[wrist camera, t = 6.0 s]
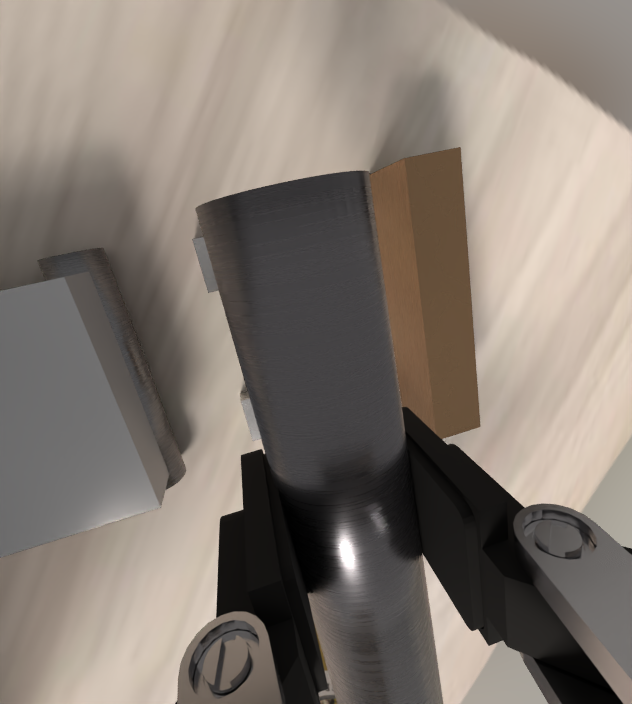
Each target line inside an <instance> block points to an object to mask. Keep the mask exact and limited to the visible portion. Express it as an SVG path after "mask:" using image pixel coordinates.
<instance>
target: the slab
mask: <svg viewBox="0 0 632 704" xmlns="http://www.w3.org/2000/svg"><path fill="white" fill-rule="evenodd" d="M168 477H169V471H168V469H167V466H166V464H165V461H164V459H163V456H162V454H161V451H160V449H159V446H158V444H157V441H156V439H155V436H154V434H153V431H152V428H151V426H150V423H149V421H148V418H147V416H146V413H145V411H144V408H143V406H142V403H141V401H140V398H139V396H138V393H137V391H136V388H135V385H134V383H133V380H132V378H131V375H130V373H129V370H128V368H127V365H126V363H125V360H124V358H123V355H122V353H121V350H120V348H119V345H118V343H117V340H116V337H115V335H114V332H113V330H112V327H111V325H110V322H109V320H108V317H107V315H106V312H105V310H104V307H103V305H102V302H101V300H100V297H99V294H98V292H97V289H96V287H95V284H94V282H93V279H92V277H91V274H90V272H85V273H80V274H75V275H71V276H66V277H62V278H57V279H52V280H48V281H43V282H39V283H34V284H29V285H25V286H20V287H16V288H11V289H6V290H2V291H0V558H1V557H4V556H7V555H10V554H14V553H17V552H20V551H23V550H26V549H30V548H33V547H36V546H39V545H42V544H46V543H49V542H52V541H55V540H58V539H62V538H65V537H68V536H71V535H74V534H78V533H81V532H84V531H87V530H90V529H94V528H97V527H100V526H103V525H106V524H110V523H113V522H116V521H119V520H122V519H126V518H129V517H132V516H135V515H138V514H142V513H145V512H148V511H151V510H154V509H158V508H161V505H162V501H163V497H164V493H165V489H166V485H167V481H168Z"/></svg>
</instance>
